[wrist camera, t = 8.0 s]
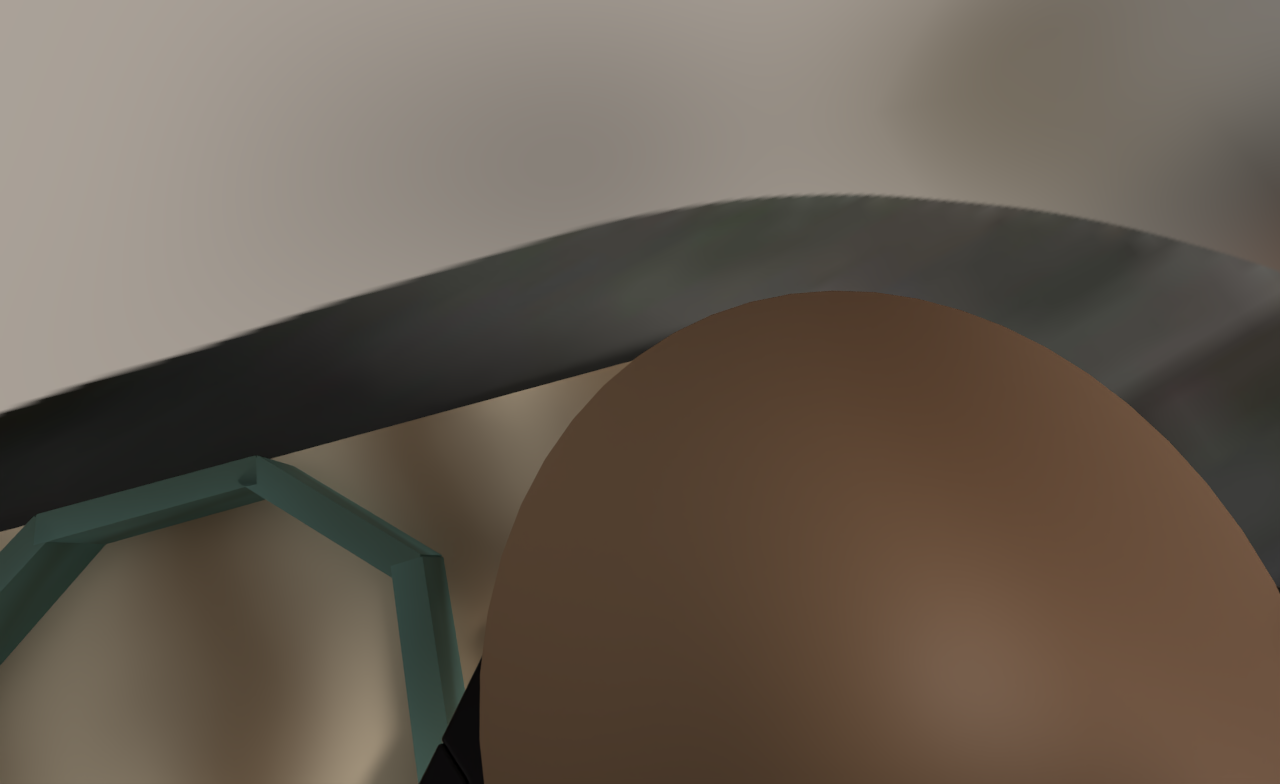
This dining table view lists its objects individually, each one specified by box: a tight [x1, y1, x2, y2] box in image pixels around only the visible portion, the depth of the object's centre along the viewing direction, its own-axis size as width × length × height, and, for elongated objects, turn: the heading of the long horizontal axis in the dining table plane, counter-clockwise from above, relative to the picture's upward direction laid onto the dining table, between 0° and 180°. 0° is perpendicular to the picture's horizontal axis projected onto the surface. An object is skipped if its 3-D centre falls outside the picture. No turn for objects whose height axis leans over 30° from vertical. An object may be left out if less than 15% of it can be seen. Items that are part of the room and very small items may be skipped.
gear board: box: [0, 361, 632, 784], centre depth 12 cm, size 27×19×3 cm
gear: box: [480, 291, 1280, 784], centre depth 8 cm, size 10×10×12 cm
